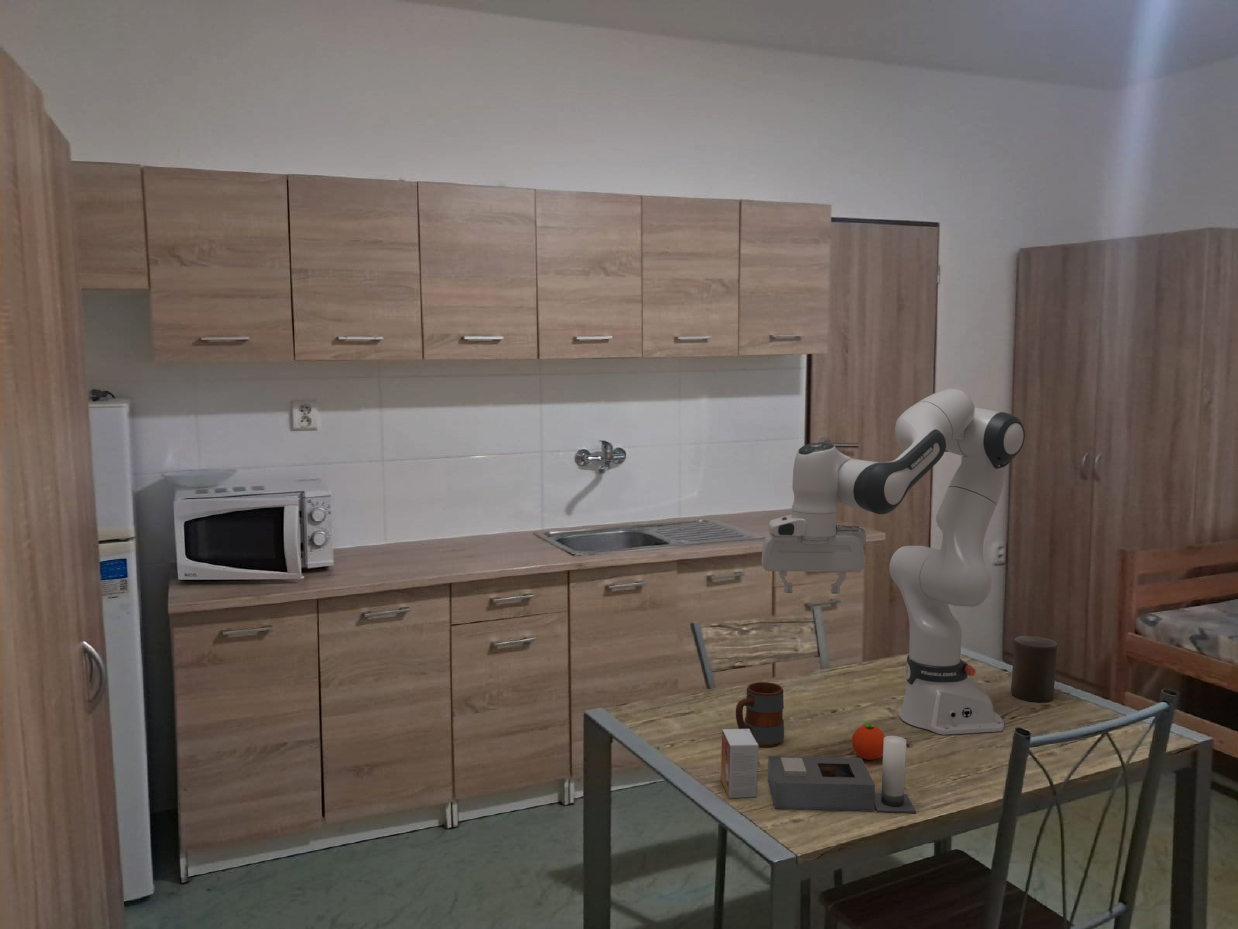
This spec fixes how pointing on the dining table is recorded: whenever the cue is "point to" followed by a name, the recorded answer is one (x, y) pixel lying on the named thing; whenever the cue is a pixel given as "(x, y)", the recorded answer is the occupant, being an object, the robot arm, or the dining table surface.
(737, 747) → the small box
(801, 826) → the dining table surface
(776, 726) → the mug
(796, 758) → the panel
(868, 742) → the clementine
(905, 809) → the mat
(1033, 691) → the pillar candle
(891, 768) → the white cylinder
